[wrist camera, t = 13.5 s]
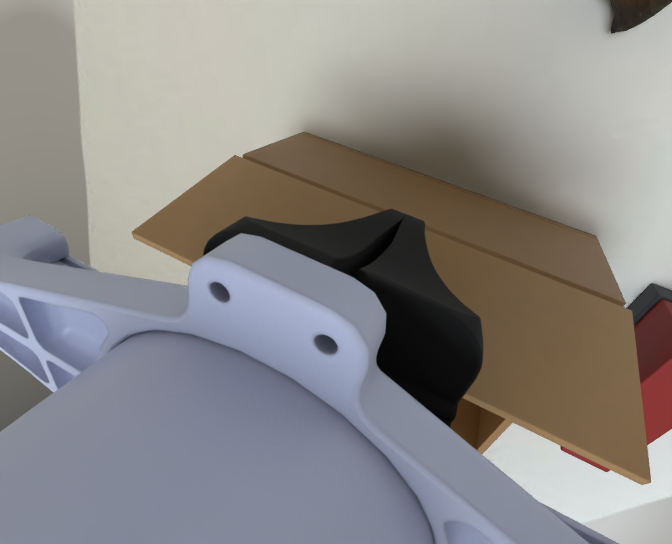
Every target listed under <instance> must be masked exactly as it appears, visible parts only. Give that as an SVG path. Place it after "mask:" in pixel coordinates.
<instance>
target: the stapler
mask: <svg viewBox="0 0 672 544" xmlns="http://www.w3.org/2000/svg"><path fill="white" fill-rule="evenodd" d="M628 309H629V310H631V311H632V314H633V323H634V332H635V341H636V350H637V359H638V368H639V377H640V386H641V395H642V404H643V413H644V422H645V431H646V440H647V445H648V444H650V443H651V442H653V441H654V440H656V439H657V438H659V437H660V436H662V435H663V434H665V433H666V432H668V431H669V430H671V429H672V291H671V290H668V289H665V288H662V287H660V286H657V285H654V284H651V285H650V286H649V287H648V288H647V289H646V290H645V291H644V292H643V293H642V294H641V295H640V296H639V297H638V298H637V299H636V300H635V301H634V302H633V303H632V304H631V306H630V307H629V308H628ZM560 447H561V450H562V451H564V452H566V453H568V454H570V455H572V456H574V457H576V458H578V459H581V460H583V461H585V462H587V463H589V464H591V465H593V466H595V467H597V468H599V469H601V470H603V471H605V472H608V471H610V469H608V468H606V467H604V466H602V465H600V464H598V463H596V462H594V461H591V460H589V459H587V458H585V457H583V456H581V455H579V454H577V453H575V452H573V451H571V450H569V449H567V448H565V447H563V446H561V445H560Z"/></svg>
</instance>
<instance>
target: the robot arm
mask: <svg viewBox="0 0 672 544" xmlns="http://www.w3.org/2000/svg"><path fill="white" fill-rule="evenodd" d="M425 226H426V225H425V222H424V221H423V220H420V219H418V218H415V217H412V216H410V215H407V214H405V213H402V212H400V211H397V210H394V209H388V210H385V211H382V212H379V213H376V214H373V215H370V216H366V217H363V218H359V219H355V220H351V221H347V222H341V223H334V224H324V225H297V224H286V223H278V222H271V221H266V220H261V219H256V218H251V217H247V216H245V217H243V218H241V219H240V220H238V221H236V222H235V223H233V224H231V225H230V226H228V227H226V228H225V229H223V230H221V231H220V232H218V233H216V234H215V235H214V236H213V237H211V238H210V239H209V240H208V242H207V244H206V246H205V248H204V252H203V257H201V258H200V259H198V260H197V261H195V262H194V263H192V266H191V270H190V273H189V277H188V286H185V285H179V284H173V283H167V282H161V281H154V280H148V279H142V278H136V277H130V276H123V275H117V274H111V273H105V272H100V271H98V270H96V269H94V268H92V267H90V266H88V265H87V264H85V263H83V262H81V261H79V260H77V259H75V258H73V257H71V256H69V248H68V244H67V241H66V239H65V237H64V236H63V235H62V233H61V232H60V231H59V230H57V229H56V228H54V227H52V226H50V225H48V224H46V223H44V222H42V221H40V220H38V219H36V218H34V217H32V216H26V217H23V218H20V219H17V220H14V221H11V222H8V223H5V224H2V225H0V350H1V351H3V352H4V353H5V354H7V355H8V356H9V357H11V358H12V359H13V360H14V361H16V362H17V363H18V364H19V365H21V366H22V367H23V368H25V369H26V370H27V371H28V372H30V373H31V374H32V375H33V376H35V377H36V378H37V379H38V380H39V381H40V382H42V383H43V384H44V385H45V386H47V387H48V388H49V389H50V390H51V391H53V392H54V393H53V394H51V395H50V396H49V397H47V398H46V399H45V400H43V401H42V402H40V403H39V404H38V405H37V406H35V407H34V408H32V409H31V410H30V411H28V412H27V413H26V414H24V415H23V416H21V417H20V418H19V419H17V420H16V421H15V422H13V423H12V424H11V425H9V426H8V427H6V428H5V429H4V430H2V431H1V432H0V544H618V543H616V542H615V541H613V540H611V539H609V538H607V537H605V536H603V535H601V534H599V533H597V532H596V531H594V530H592V529H590V528H588V527H586V526H584V525H582V524H580V523H578V522H577V521H575V520H573V519H571V518H569V517H567V516H565V515H563V514H561V513H559V512H557V511H556V510H554V509H552V508H550V507H548V506H546V505H544V504H542V503H540V502H538V501H537V500H536V499H535V498H534V497H532V496H531V495H530V494H529V493H528V492H526V491H525V490H524V489H523V488H522V487H520V486H519V485H518V484H517V483H516V482H514V481H513V480H512V479H511V478H510V477H508V476H507V475H506V474H505V473H504V472H502V471H501V470H500V469H499V468H498V467H496V466H495V465H494V464H493V463H491V462H490V461H489V460H488V459H487V458H485V457H484V456H483V455H482V454H481V453H479V452H478V451H477V450H476V449H475V448H473V447H472V446H471V445H470V444H469V443H467V442H466V441H465V440H464V439H463V438H461V437H460V436H459V435H458V434H457V433H455V432H454V431H453V430H452V429H451V428H450V426H451V422H453V420H454V419H455V417H456V413H457V407H458V403H459V402H460V400H461V399H462V398H463V396H464V395H465V394H466V392H467V391H468V389H469V388H470V387H471V385H472V384H473V383H474V381H475V380H476V379H477V377H478V374H479V372H480V370H481V368H482V362H483V334H482V325H481V319H480V317H479V316H478V315H477V314H475V313H474V312H473V311H472V310H470V309H469V308H468V307H467V306H465V305H464V304H463V303H462V302H461V301H460V300H459V299H458V298H457V297H456V296H455V295H454V294H453V293H452V292H451V291H450V290H449V289H448V287H447V286H446V285H445V284H444V282H443V281H442V279H441V278H440V277H439V275H438V273H437V272H436V270H435V268H434V266H433V264H432V261H431V258H430V255H429V252H428V249H427V244H426V238H425Z"/></svg>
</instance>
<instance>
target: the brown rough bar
mask: <svg viewBox="0 0 672 544" xmlns="http://www.w3.org/2000/svg"><path fill="white" fill-rule="evenodd" d="M671 2H672V0H611V3H612V7H613V10H614V18H613V22H612V27H611V33H615V32H621V31H627V30H629V29H631V28H633V27H635V26H637V25H639V24H641V23H642V22H644V21H646V20H647V19H649V18H650V17H652V16H654V15H655V14H656V13H658V12H659V11H660V10H662V9H663V8H664V7H666V6H667V5H668V4H670V3H671Z"/></svg>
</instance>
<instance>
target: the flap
mask: <svg viewBox="0 0 672 544" xmlns="http://www.w3.org/2000/svg"><path fill="white" fill-rule="evenodd" d="M376 213H379V211H376V210H374V209H371V208H369V207H366V206H364V205H361V204H359V203H356V202H353V201H351V200H348V199H346V198H343V197H341V196H338V195H336V194H333V193H330V192H328V191H325V190H323V189H320V188H318V187H315V186H313V185H310V184H307V183H305V182H302V181H300V180H297V179H295V178H292V177H290V176H287V175H284V174H282V173H279V172H277V171H274V170H272V169H269V168H267V167H264V166H261V165H259V164H256V163H254V162H251V161H249V160H246V159H244V158H241V157H238V156H236V155H234V156H233V157H232V158H230V159H229V160H228V161H226V162H225V163H223V164H222V165H221V166H219V167H218V168H217V169H215V170H214V171H213V172H211V173H210V174H209V175H207V176H206V177H205V178H203V179H202V180H201V181H199V182H198V183H197V184H195V185H194V186H193V187H191V188H190V189H189V190H187V191H186V192H185V193H183V194H182V195H181V196H179V197H178V198H177V199H175V200H174V201H173V202H171V203H170V204H169V205H167V206H166V207H165V208H163V209H162V210H160V211H159V212H158V213H156V214H155V215H154V216H152V217H151V218H150V219H148V220H147V221H146V222H144V223H143V224H142V225H140V226H139V227H138V228H136V229H135V230H134V231H132V235H133V237H134V239H136V240H138V241H140V242H142V243H144V244H146V245H149V246H151V247H153V248H155V249H157V250H159V251H161V252H163V253H165V254H167V255H169V256H171V257H173V258H175V259H177V260H179V261H181V262H184V263H186V264H188V265H190V266H192V263H194V262H195V261H197V260H198V259H200V258H201V257H203V252H204V248H205V246H206V244H207V242H208V240H209V239H210V238H211V237H213V236H214V235H215V234H216V233H218V232H220V231H221V230H223V229H225V228H226V227H228V226H230V225H231V224H233V223H235V222H236V221H238V220H240V219H241V218H243V217H245V216H247V217H251V218H256V219H261V220H266V221H271V222H278V223H286V224H297V225H324V224H334V223H341V222H347V221H351V220H355V219H359V218H363V217H366V216H370V215H373V214H376ZM425 238H426V244H427V249H428V252H429V255H430V258H431V261H432V264H433V266H434V268H435V270H436V272H437V273H438V275H439V277H440V278H441V279H442V281H443V282H444V284H445V285H446V286H447V287H448V289H449V290H450V291H451V292H452V293H453V294H454V295H455V296H456V297H457V298H458V299H459V300H460V301H461V302H462V303H463V304H464V305H465V306H467V307H468V308H469V309H470V310H472V311H473V312H474V313H475V314H477V315H478V316H479V317H480V319H481V325H482V334H483V362H482V368H481V370H480V372H479V374H478V377H477V379H476V380H475V381H474V383H473V384H472V385H471V387H470V388H469V389H468V391H467V392H466V394H465V395H464V396H463V398H464V399H466V400H468V401H470V402H472V403H474V404H476V405H478V406H480V407H482V408H484V409H486V410H488V411H491V412H493V413H495V414H497V415H499V416H501V417H503V418H505V419H507V420H509V421H511V422H513V423H515V424H517V425H519V426H521V427H523V428H526V429H528V430H530V431H532V432H534V433H536V434H538V435H540V436H542V437H544V438H546V439H548V440H550V441H552V442H554V443H556V444H558V445H561V446H563V447H565V448H567V449H569V450H571V451H573V452H575V453H577V454H579V455H581V456H583V457H585V458H587V459H589V460H591V461H594V462H596V463H598V464H600V465H602V466H604V467H606V468H608V469H610V470H612V471H614V472H616V473H618V474H620V475H622V476H624V477H626V478H629V479H631V480H633V481H635V482H637V483H639V484H641V485H644V484H648V483H651V476H650V467H649V458H648V449H647V440H646V431H645V422H644V413H643V404H642V395H641V386H640V377H639V368H638V359H637V350H636V341H635V332H634V323H633V314H632V311H631V310H629V309H627V308H624V307H622V306H619V305H616V304H614V303H611V302H609V301H606V300H604V299H601V298H599V297H596V296H593V295H591V294H588V293H586V292H583V291H581V290H578V289H576V288H573V287H570V286H568V285H565V284H563V283H560V282H558V281H555V280H553V279H550V278H547V277H545V276H542V275H540V274H537V273H535V272H532V271H530V270H527V269H524V268H522V267H519V266H517V265H514V264H512V263H509V262H507V261H504V260H502V259H499V258H496V257H494V256H491V255H489V254H486V253H484V252H481V251H479V250H476V249H473V248H471V247H468V246H466V245H463V244H461V243H458V242H456V241H453V240H450V239H448V238H445V237H443V236H440V235H438V234H435V233H433V232H430V231H427V230H425Z"/></svg>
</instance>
